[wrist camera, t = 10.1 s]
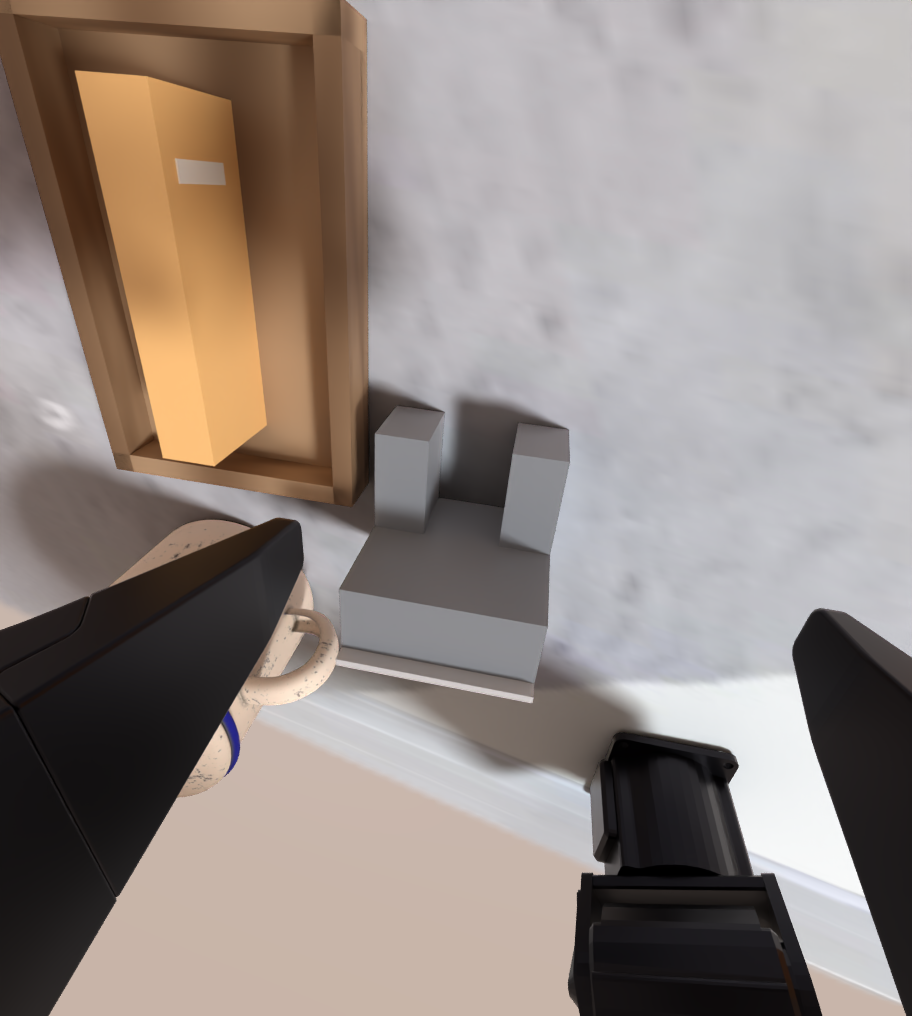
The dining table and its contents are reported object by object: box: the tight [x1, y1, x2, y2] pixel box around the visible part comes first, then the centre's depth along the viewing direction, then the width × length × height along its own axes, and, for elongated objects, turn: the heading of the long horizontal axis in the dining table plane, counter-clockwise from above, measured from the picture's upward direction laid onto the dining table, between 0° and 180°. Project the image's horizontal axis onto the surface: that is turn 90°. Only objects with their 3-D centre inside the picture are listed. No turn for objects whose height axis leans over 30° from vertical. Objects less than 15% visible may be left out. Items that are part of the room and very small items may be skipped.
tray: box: [0, 0, 369, 507], centre depth 19 cm, size 11×16×2 cm
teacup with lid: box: [109, 520, 339, 797], centre depth 23 cm, size 12×9×12 cm
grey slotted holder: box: [336, 406, 570, 703], centre depth 20 cm, size 7×7×8 cm
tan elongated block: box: [75, 70, 267, 466], centre depth 18 cm, size 2×11×4 cm, turn 175°
